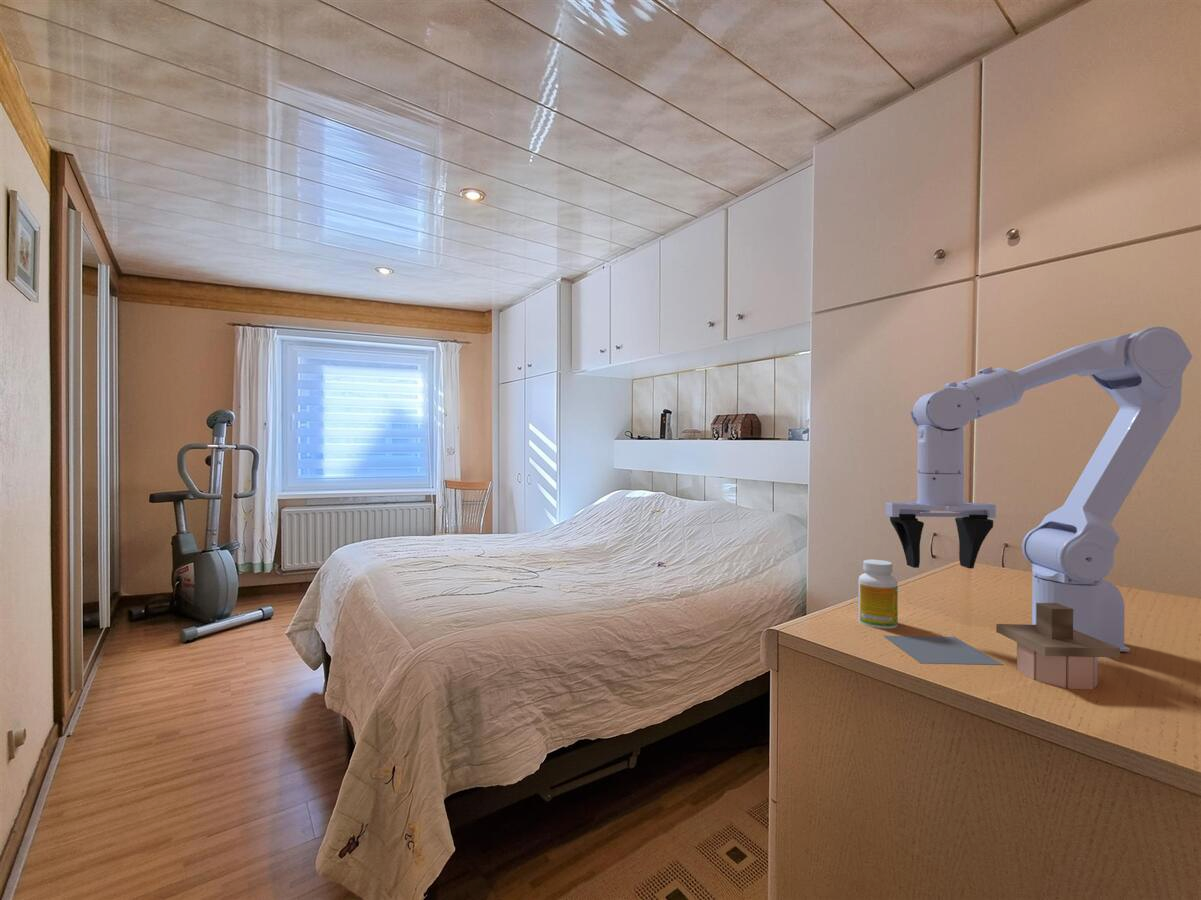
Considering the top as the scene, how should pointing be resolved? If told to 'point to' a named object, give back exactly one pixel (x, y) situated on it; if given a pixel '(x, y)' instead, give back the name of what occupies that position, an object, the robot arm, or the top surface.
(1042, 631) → the lid
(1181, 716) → the top surface
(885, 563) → the supplement bottle
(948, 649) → the mat
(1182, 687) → the top surface
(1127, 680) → the top surface
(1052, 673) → the bowl
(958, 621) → the top surface
